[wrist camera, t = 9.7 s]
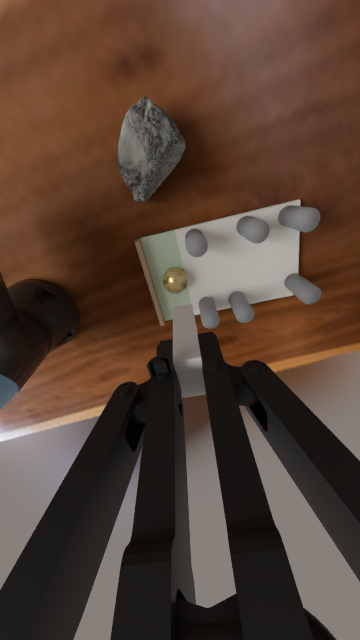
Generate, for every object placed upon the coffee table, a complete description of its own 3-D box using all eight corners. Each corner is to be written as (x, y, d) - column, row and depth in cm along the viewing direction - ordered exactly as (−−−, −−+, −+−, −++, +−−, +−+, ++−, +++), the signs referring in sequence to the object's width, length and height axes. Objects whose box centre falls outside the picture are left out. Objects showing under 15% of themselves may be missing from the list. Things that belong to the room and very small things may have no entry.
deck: (161, 319, 49) (158, 340, 42) (137, 238, 41) (128, 248, 34) (298, 291, 46) (320, 309, 39) (300, 198, 38) (329, 200, 31)
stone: (170, 187, 28) (125, 87, 24) (127, 212, 36) (87, 139, 31) (208, 165, 33) (178, 79, 29) (164, 191, 41) (134, 125, 36)
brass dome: (166, 290, 45) (165, 295, 43) (161, 269, 43) (160, 272, 41) (188, 287, 44) (188, 291, 42) (185, 265, 42) (185, 268, 40)
